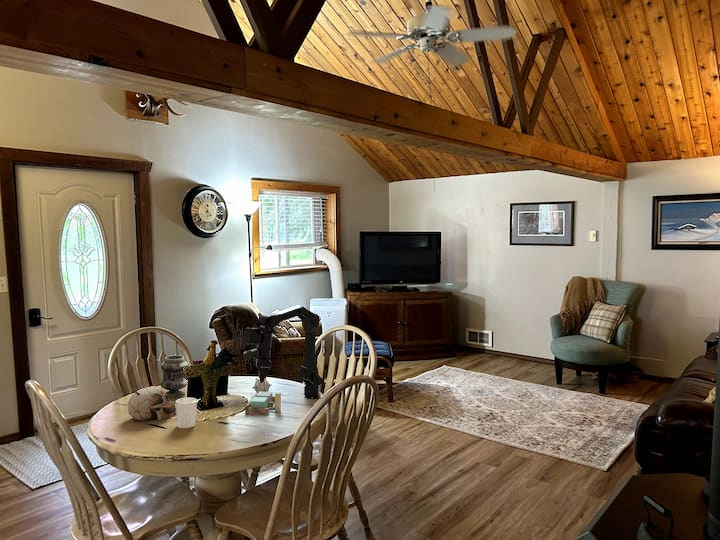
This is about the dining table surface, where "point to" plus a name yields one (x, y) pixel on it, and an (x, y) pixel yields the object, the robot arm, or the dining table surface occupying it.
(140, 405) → the skull
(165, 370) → the apothecary jar
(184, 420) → the white cup
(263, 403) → the teal cube mallet
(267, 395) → the slate block
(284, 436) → the dining table surface
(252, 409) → the shelf
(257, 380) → the grey spiky lump
